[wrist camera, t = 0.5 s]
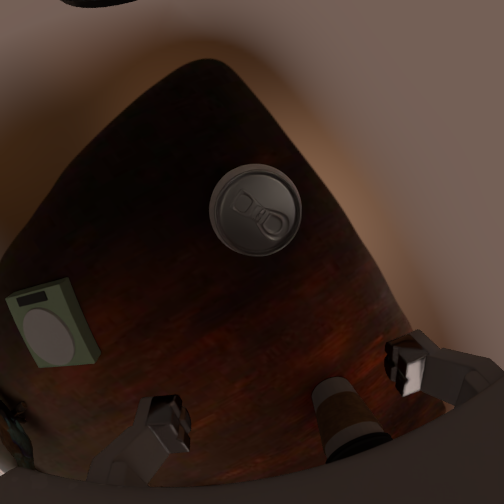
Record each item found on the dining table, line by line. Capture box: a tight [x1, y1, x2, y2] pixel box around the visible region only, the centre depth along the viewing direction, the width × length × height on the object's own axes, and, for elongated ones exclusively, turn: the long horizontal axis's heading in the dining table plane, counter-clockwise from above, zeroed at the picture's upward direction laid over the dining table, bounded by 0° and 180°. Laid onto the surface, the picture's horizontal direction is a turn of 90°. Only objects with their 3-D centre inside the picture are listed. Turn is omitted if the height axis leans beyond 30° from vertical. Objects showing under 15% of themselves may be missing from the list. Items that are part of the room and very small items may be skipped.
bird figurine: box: [0, 400, 35, 470], centre depth 30 cm, size 13×10×20 cm
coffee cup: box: [312, 377, 393, 464], centre depth 31 cm, size 8×8×15 cm
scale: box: [5, 277, 101, 368], centre depth 30 cm, size 11×11×3 cm
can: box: [209, 164, 302, 256], centre depth 24 cm, size 6×6×12 cm
